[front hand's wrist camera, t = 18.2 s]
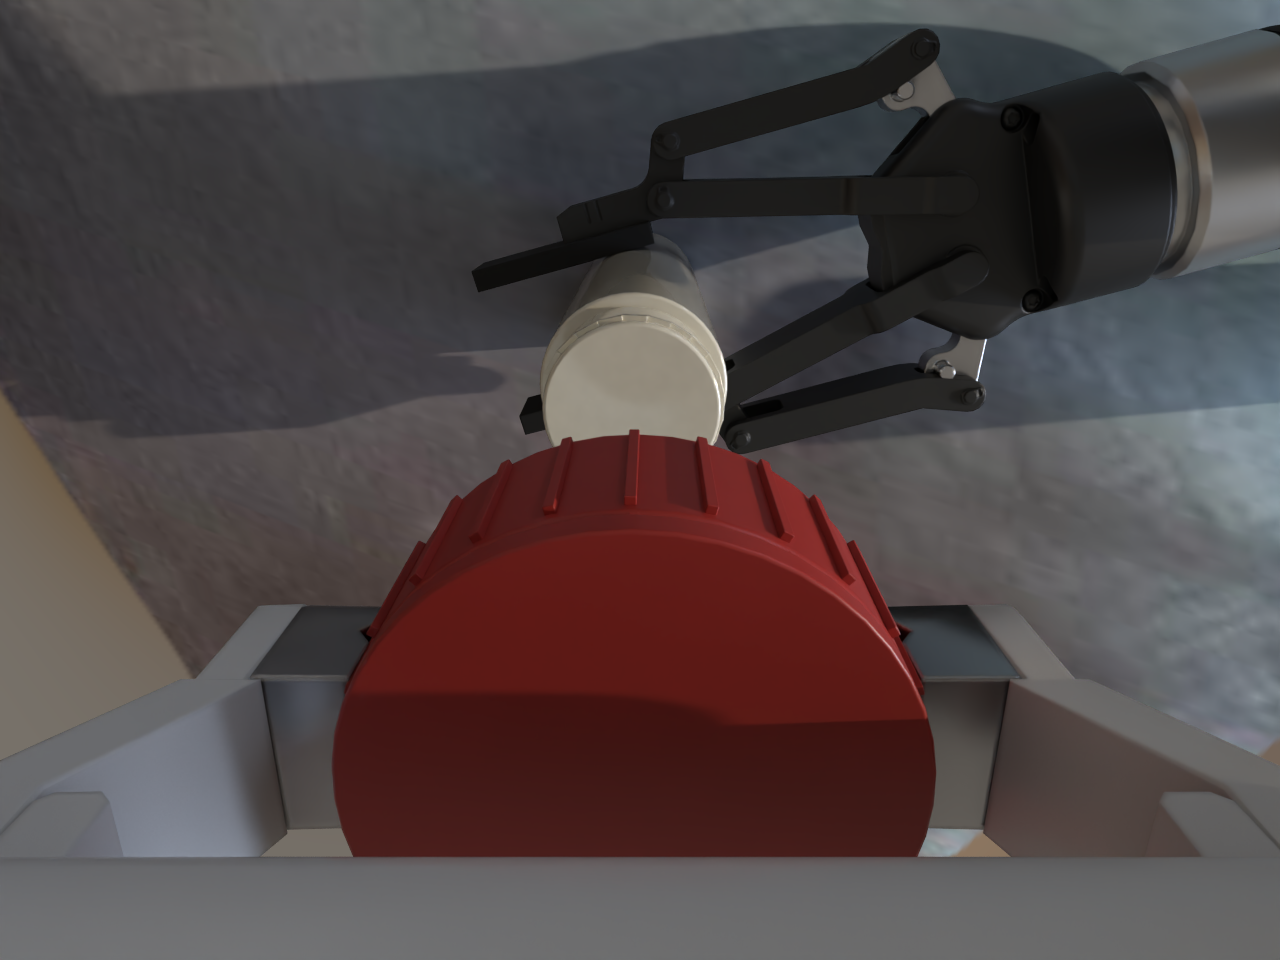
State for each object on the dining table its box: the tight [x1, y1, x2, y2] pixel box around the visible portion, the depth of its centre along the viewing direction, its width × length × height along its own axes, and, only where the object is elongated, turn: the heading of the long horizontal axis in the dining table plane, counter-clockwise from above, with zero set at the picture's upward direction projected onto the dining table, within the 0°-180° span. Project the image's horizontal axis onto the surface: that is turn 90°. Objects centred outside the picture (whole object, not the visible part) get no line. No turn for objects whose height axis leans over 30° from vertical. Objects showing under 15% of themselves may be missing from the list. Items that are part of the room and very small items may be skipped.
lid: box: [332, 429, 936, 857], centre depth 9 cm, size 6×6×2 cm
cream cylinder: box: [540, 233, 727, 447], centre depth 29 cm, size 5×5×20 cm
